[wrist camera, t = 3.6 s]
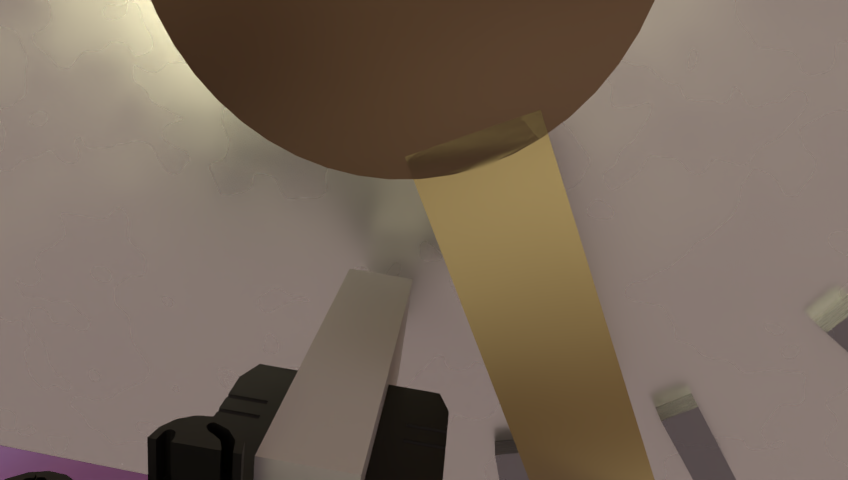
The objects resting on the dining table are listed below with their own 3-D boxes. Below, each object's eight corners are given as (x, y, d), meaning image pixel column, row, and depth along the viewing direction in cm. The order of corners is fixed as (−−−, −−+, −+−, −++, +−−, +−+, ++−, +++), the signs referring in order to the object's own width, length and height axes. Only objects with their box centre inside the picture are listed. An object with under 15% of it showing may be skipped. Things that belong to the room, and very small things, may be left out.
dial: (169, -189, 11) (17, -279, 8) (553, -383, 10) (594, -610, 6) (498, 575, 17) (502, 736, 13) (771, 520, 16) (861, 683, 12)
